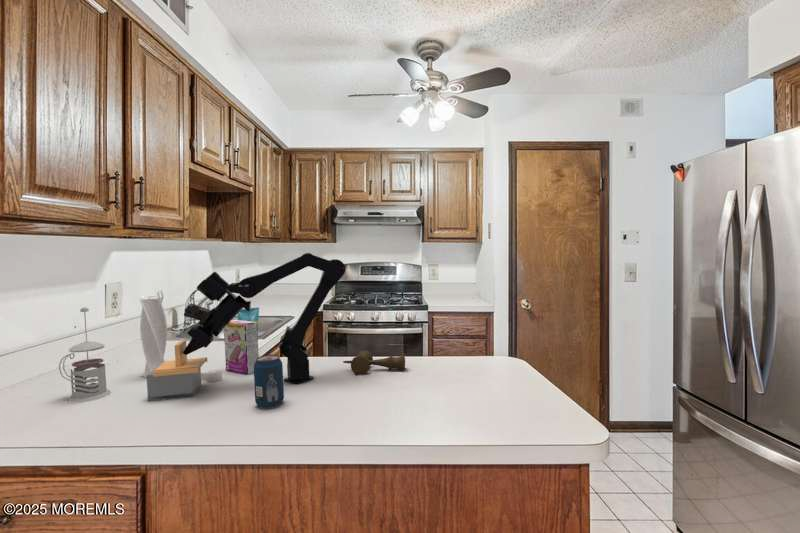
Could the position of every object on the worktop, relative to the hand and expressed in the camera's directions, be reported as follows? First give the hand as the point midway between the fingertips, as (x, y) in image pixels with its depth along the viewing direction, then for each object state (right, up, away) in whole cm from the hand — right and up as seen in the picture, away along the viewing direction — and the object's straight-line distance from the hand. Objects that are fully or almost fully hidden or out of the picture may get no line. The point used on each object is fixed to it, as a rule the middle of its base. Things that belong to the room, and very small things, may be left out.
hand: (184, 353), depth 116 cm
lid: (-1, -4, 0) cm, 4 cm away
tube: (+7, -10, +31) cm, 33 cm away
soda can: (+28, -11, -12) cm, 32 cm away
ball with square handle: (+2, -10, +11) cm, 16 cm away
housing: (-2, -11, 0) cm, 11 cm away
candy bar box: (+9, -10, +19) cm, 24 cm away
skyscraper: (-18, -11, +18) cm, 28 cm away
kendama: (+52, -9, +15) cm, 55 cm away
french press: (-27, -12, -1) cm, 30 cm away
